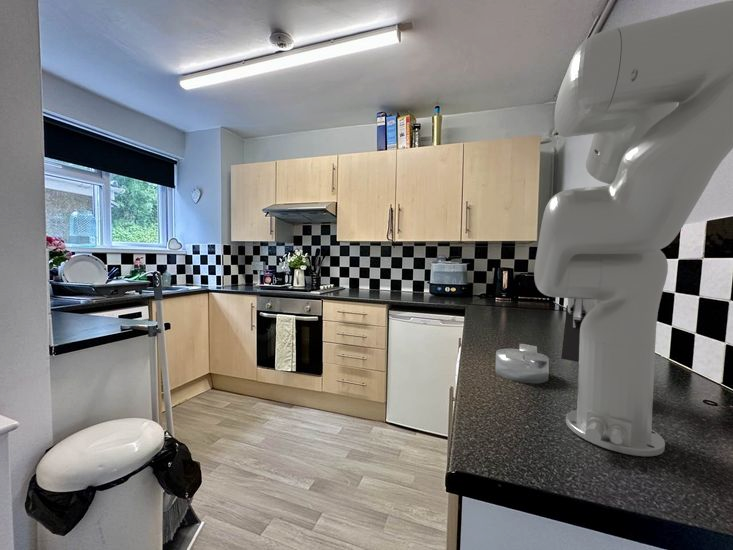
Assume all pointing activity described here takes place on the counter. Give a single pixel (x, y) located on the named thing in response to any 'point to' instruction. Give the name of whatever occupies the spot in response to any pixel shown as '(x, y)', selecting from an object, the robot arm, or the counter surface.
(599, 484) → the counter surface
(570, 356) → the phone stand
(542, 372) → the grey short round piece
